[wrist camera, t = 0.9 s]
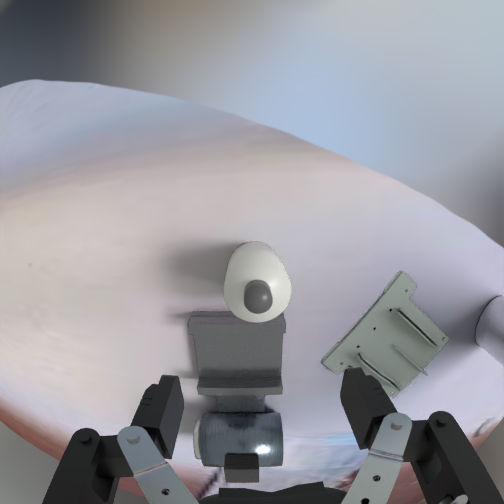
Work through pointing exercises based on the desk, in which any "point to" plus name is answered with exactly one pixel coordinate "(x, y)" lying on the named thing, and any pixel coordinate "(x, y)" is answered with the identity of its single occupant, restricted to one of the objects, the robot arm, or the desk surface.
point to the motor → (238, 393)
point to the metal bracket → (390, 339)
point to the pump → (256, 283)
